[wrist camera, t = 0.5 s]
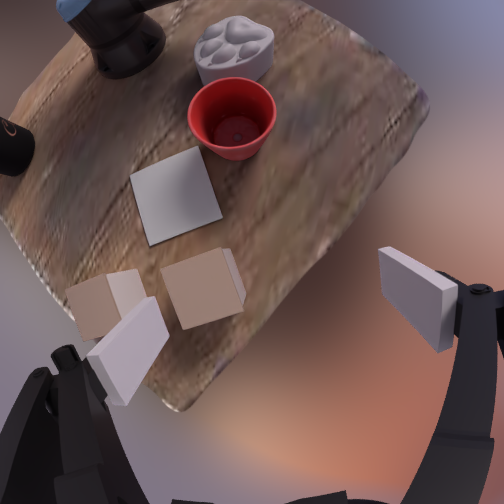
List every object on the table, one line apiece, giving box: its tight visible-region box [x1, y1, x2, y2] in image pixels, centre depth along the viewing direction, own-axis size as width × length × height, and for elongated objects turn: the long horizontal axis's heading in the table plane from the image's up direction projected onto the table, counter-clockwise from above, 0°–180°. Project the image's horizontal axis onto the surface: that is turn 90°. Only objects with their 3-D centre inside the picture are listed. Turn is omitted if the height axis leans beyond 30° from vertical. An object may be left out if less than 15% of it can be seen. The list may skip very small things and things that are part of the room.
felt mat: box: [130, 146, 223, 246], centre depth 40 cm, size 12×12×1 cm
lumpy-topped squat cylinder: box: [194, 16, 274, 86], centre depth 35 cm, size 10×13×9 cm
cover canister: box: [65, 269, 147, 341], centre depth 36 cm, size 7×7×10 cm
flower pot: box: [187, 77, 276, 161], centre depth 35 cm, size 11×11×10 cm
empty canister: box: [160, 247, 246, 330], centre depth 35 cm, size 7×7×10 cm
